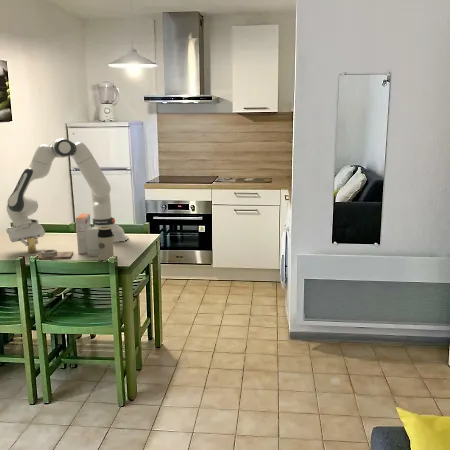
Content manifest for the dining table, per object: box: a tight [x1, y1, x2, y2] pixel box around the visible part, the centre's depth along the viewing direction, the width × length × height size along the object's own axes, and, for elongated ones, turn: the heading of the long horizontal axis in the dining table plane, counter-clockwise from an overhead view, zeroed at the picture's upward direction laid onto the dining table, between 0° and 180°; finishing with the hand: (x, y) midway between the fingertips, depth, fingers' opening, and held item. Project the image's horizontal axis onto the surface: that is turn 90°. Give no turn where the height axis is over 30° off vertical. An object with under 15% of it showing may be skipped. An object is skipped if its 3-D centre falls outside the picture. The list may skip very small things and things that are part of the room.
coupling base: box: [34, 249, 74, 260], centre depth 288 cm, size 20×11×3 cm, turn 98°
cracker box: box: [75, 213, 92, 255], centre depth 299 cm, size 14×6×21 cm, turn 4°
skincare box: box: [86, 226, 99, 257], centre depth 291 cm, size 8×7×16 cm
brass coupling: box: [26, 238, 37, 254], centre depth 297 cm, size 4×4×8 cm
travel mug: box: [98, 226, 115, 261], centre depth 281 cm, size 8×8×18 cm
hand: (32, 244), depth 297 cm, fingers closed on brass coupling, 4 cm apart
